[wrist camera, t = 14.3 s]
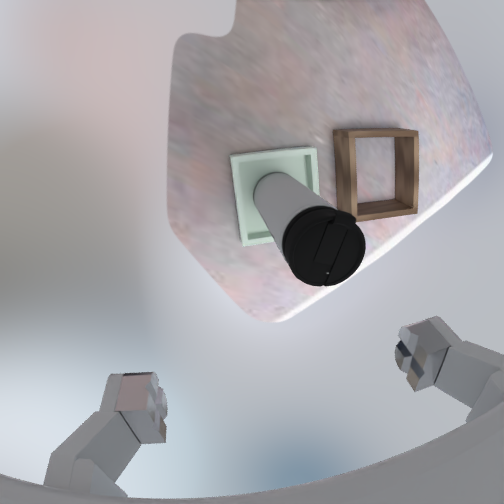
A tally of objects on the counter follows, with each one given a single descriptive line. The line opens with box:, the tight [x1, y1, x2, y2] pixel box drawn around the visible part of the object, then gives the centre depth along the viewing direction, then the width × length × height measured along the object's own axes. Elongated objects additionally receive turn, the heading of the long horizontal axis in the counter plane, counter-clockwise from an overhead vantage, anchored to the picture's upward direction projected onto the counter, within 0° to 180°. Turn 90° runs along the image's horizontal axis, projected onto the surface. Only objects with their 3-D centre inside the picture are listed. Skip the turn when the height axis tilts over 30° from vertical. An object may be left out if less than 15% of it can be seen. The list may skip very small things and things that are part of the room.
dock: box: [229, 146, 320, 247], centre depth 41 cm, size 12×11×2 cm
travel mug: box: [253, 172, 366, 286], centre depth 32 cm, size 6×7×20 cm
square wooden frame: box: [333, 128, 419, 222], centre depth 40 cm, size 12×11×5 cm
